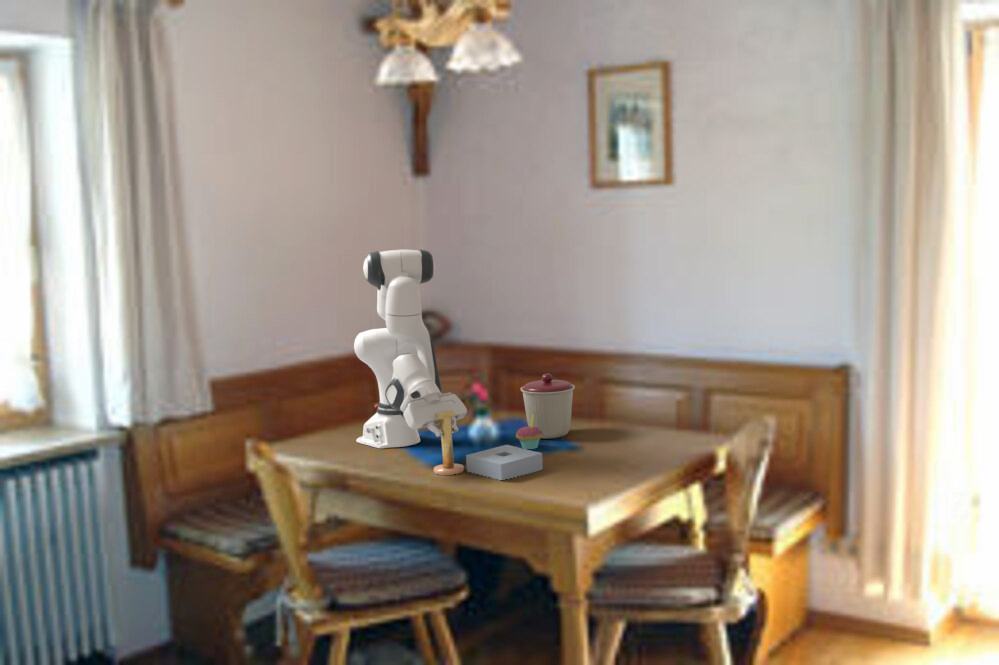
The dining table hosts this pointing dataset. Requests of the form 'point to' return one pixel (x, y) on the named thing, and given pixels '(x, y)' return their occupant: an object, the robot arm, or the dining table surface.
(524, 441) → the cupcake
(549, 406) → the canister
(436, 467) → the pink flat disc
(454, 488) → the dining table surface
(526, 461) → the grey square socket block
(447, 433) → the key
